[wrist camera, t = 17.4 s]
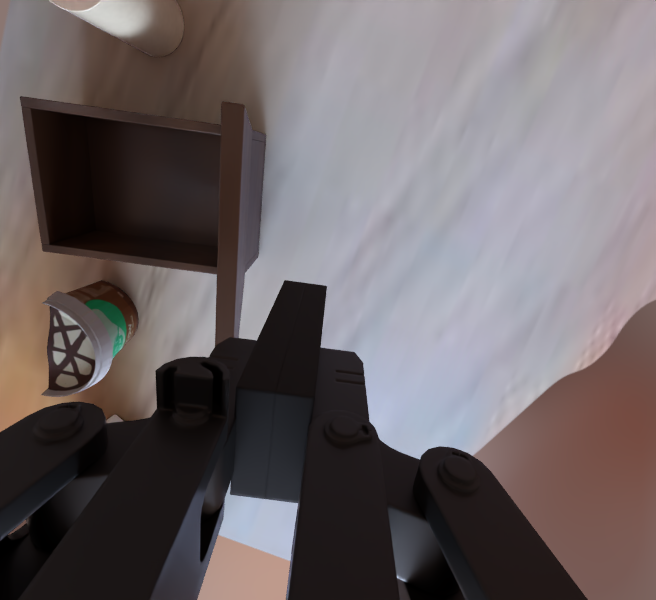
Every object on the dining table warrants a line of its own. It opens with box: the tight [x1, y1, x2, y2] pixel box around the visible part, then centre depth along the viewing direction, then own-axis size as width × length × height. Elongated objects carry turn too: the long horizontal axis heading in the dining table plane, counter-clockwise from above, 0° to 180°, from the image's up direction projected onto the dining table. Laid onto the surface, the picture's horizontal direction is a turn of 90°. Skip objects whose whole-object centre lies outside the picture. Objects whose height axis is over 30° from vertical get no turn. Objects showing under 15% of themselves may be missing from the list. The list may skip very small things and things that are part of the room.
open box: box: [20, 96, 266, 274], centre depth 38 cm, size 20×14×8 cm
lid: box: [215, 101, 253, 347], centre depth 25 cm, size 20×14×1 cm
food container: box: [41, 280, 138, 397], centre depth 43 cm, size 12×6×10 cm, turn 164°
